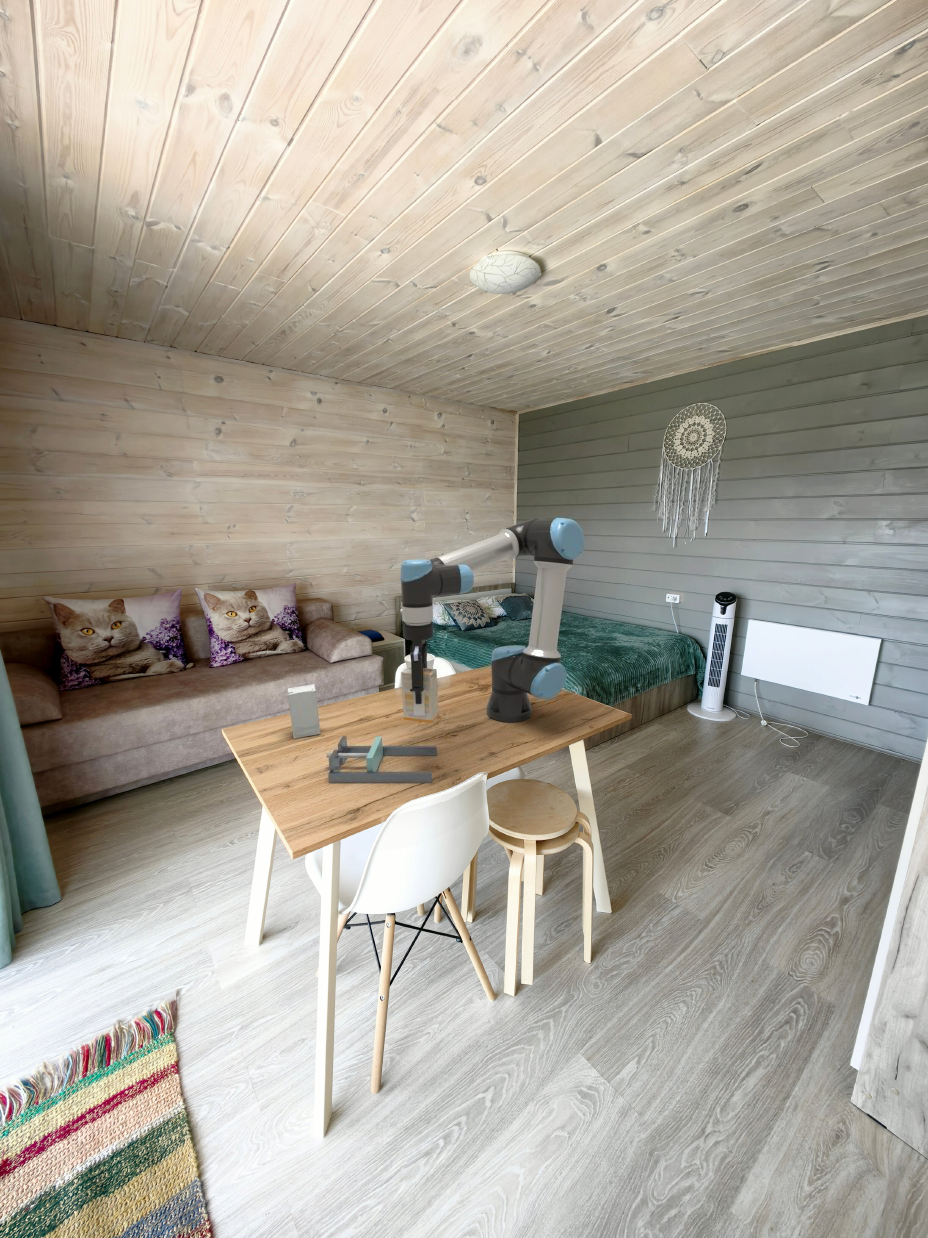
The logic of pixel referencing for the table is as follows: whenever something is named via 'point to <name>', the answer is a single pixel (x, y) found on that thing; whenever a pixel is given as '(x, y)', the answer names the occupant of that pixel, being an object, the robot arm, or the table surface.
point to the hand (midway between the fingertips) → (421, 709)
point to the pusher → (368, 755)
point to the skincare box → (303, 711)
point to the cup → (429, 661)
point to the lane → (378, 776)
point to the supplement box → (429, 695)
